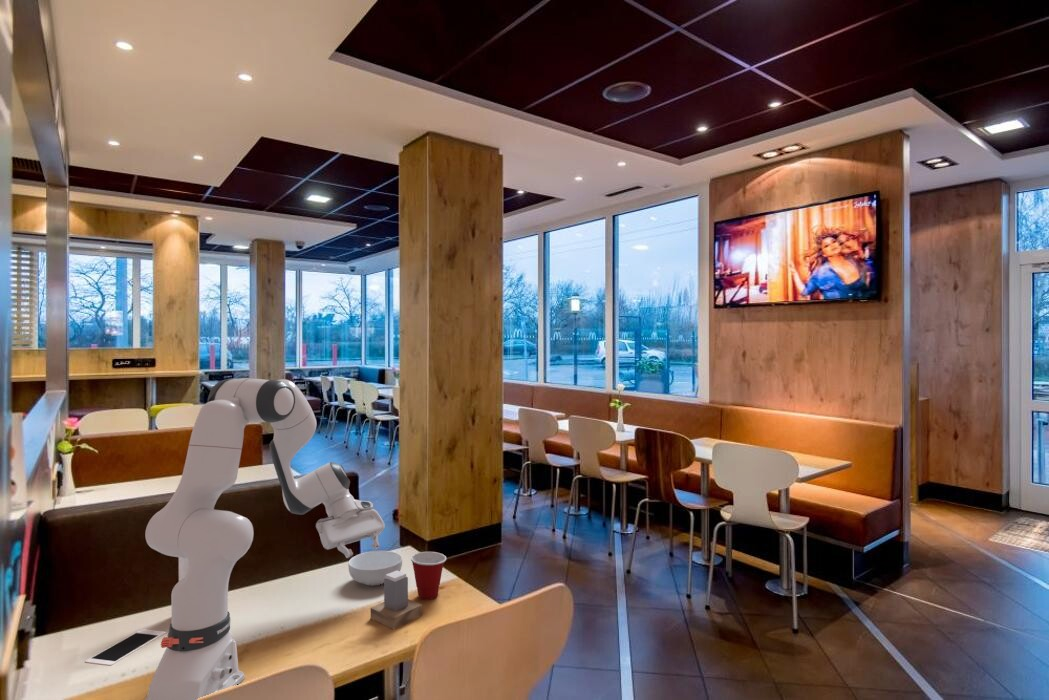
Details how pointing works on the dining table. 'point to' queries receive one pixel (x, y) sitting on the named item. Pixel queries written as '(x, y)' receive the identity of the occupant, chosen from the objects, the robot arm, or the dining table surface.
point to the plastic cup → (428, 573)
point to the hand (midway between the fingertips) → (363, 552)
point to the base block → (396, 614)
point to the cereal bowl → (374, 566)
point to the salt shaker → (395, 591)
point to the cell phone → (125, 647)
